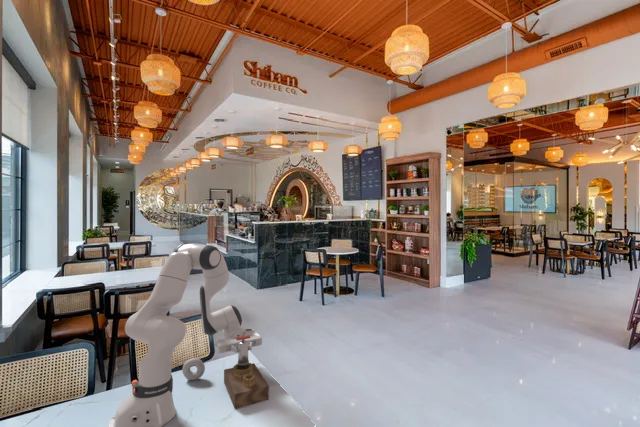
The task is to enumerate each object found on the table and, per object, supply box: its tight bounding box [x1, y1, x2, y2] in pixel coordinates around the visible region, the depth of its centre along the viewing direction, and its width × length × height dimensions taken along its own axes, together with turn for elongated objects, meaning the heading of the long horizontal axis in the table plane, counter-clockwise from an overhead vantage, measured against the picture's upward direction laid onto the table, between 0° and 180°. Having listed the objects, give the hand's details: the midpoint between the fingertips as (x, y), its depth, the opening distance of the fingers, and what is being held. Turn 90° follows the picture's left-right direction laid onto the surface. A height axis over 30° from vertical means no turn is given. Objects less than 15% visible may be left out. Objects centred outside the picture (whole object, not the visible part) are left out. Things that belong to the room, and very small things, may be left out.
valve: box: [236, 335, 250, 367], centre depth 146 cm, size 6×5×12 cm
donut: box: [182, 357, 206, 381], centre depth 151 cm, size 10×3×10 cm, turn 97°
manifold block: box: [223, 362, 270, 410], centre depth 142 cm, size 14×22×9 cm, turn 27°
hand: (243, 349), depth 145 cm, fingers closed on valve, 4 cm apart
